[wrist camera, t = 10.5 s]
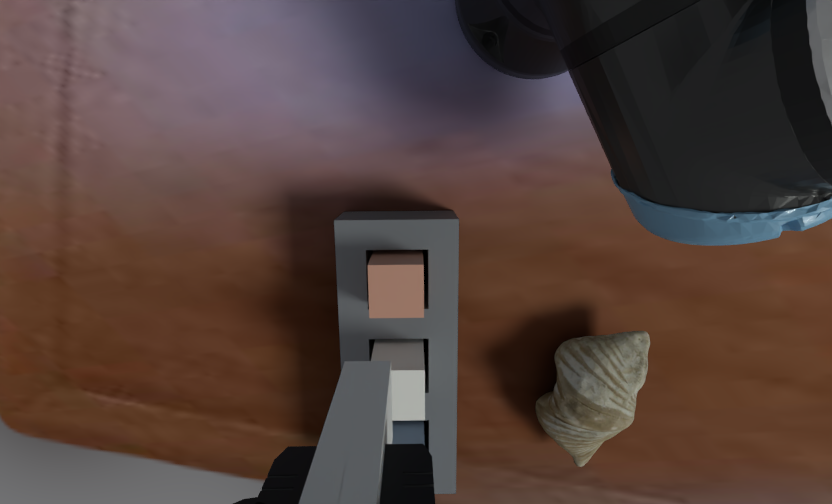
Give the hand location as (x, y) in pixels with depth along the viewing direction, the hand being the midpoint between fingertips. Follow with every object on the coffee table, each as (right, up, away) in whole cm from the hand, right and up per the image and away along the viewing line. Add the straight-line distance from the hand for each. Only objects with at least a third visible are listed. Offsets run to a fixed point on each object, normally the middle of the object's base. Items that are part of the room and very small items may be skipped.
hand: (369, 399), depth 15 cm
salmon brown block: (0, +3, +30) cm, 30 cm away
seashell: (+19, -9, +36) cm, 41 cm away
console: (0, -5, +34) cm, 35 cm away
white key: (0, -6, +30) cm, 31 cm away
